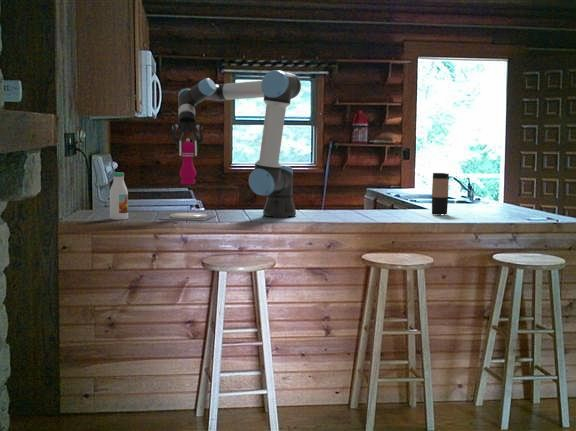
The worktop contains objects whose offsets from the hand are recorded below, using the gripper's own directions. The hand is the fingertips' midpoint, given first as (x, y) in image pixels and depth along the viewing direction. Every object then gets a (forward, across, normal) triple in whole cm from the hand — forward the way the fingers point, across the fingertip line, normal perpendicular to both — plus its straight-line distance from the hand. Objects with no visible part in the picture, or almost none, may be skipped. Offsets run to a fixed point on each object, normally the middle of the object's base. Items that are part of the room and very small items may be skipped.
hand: (188, 153), depth 310 cm
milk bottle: (+20, +30, -20) cm, 41 cm away
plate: (+18, 0, -22) cm, 29 cm away
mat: (+18, 0, -22) cm, 29 cm away
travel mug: (+11, -121, -29) cm, 125 cm away
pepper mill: (+7, 0, -12) cm, 14 cm away
